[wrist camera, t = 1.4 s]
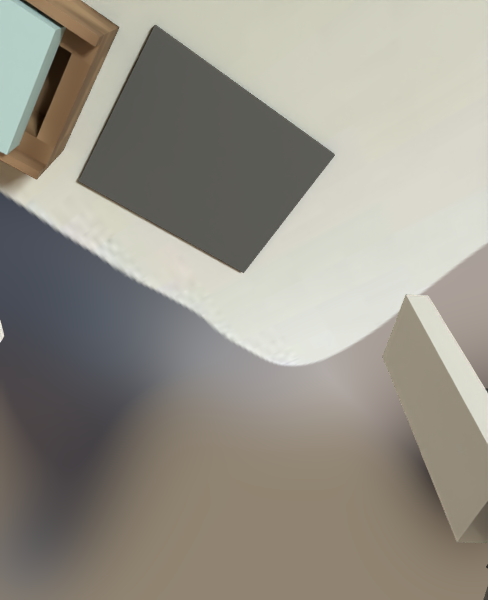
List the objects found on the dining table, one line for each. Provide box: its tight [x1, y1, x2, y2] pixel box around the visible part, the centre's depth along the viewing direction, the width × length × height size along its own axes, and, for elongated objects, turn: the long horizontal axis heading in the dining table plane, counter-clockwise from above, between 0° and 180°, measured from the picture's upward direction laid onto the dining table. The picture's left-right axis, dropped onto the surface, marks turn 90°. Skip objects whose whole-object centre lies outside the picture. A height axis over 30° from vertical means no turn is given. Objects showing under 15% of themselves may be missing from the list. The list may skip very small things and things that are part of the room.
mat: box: [79, 25, 335, 273], centre depth 37 cm, size 16×13×1 cm
